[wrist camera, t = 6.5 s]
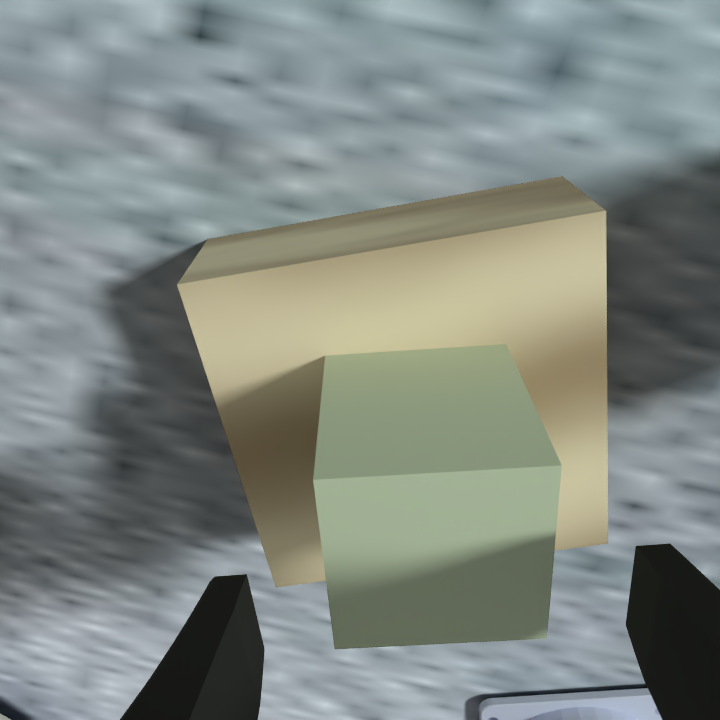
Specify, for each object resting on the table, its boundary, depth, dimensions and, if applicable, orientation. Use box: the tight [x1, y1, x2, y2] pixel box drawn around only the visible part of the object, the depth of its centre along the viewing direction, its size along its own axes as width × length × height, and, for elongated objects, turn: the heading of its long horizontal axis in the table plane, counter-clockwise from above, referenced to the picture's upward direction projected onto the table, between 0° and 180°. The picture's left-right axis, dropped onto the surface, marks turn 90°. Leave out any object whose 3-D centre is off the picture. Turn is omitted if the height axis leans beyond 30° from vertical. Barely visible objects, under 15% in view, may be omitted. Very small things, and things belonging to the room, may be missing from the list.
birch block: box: [177, 176, 608, 587], centre depth 19 cm, size 10×10×4 cm
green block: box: [313, 344, 562, 649], centre depth 15 cm, size 4×4×5 cm
